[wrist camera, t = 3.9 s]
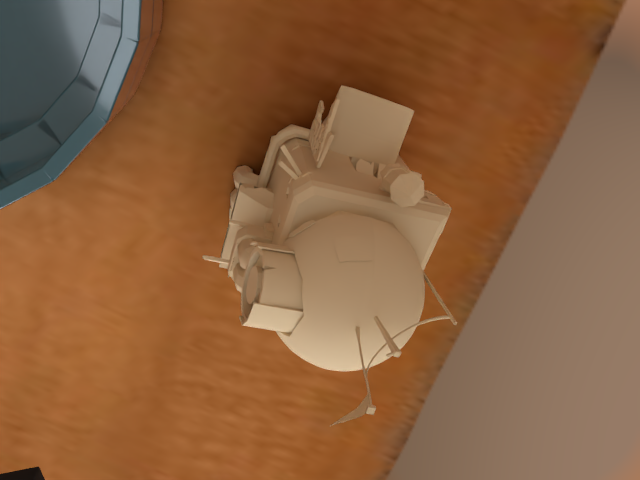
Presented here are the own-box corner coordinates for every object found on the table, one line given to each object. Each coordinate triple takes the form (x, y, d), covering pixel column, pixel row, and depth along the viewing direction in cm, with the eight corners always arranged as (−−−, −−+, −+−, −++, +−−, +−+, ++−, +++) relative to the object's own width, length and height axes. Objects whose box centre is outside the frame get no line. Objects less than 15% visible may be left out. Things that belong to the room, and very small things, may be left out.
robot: (248, 50, 25) (253, 133, 11) (421, 102, 26) (608, 229, 13) (195, 262, 28) (151, 521, 15) (350, 295, 30) (437, 552, 17)
